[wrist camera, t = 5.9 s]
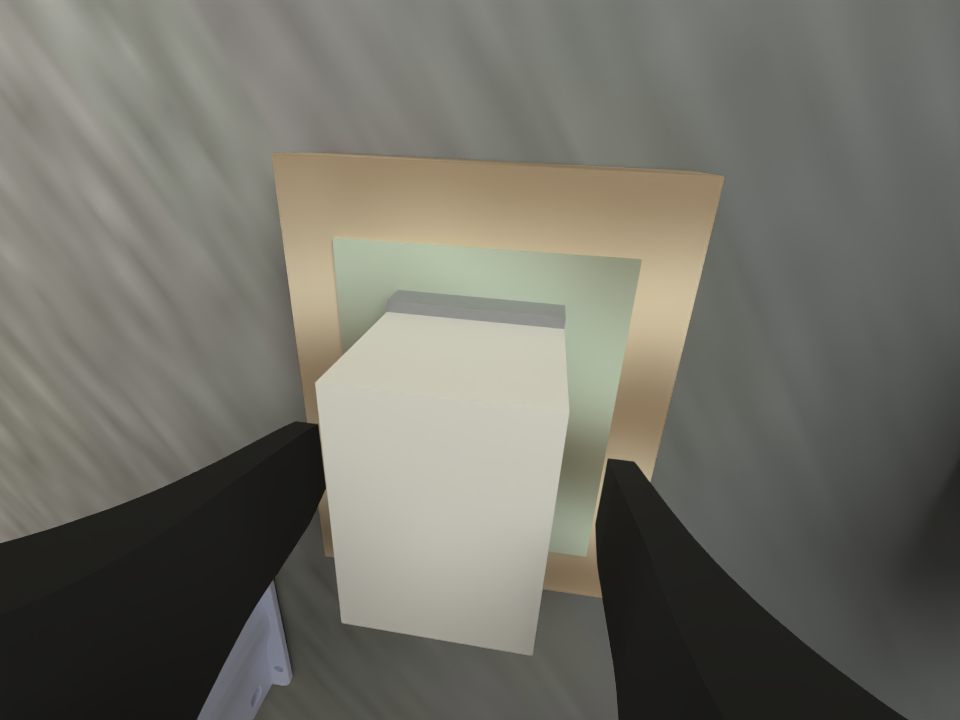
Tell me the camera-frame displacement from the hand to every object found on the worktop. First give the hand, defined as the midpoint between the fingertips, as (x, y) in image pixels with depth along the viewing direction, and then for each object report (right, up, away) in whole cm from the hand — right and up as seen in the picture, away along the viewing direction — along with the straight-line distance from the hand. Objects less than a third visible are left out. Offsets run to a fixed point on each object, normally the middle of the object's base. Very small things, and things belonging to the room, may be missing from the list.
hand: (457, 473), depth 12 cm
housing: (0, +1, +2) cm, 3 cm away
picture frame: (+1, +2, +5) cm, 6 cm away
